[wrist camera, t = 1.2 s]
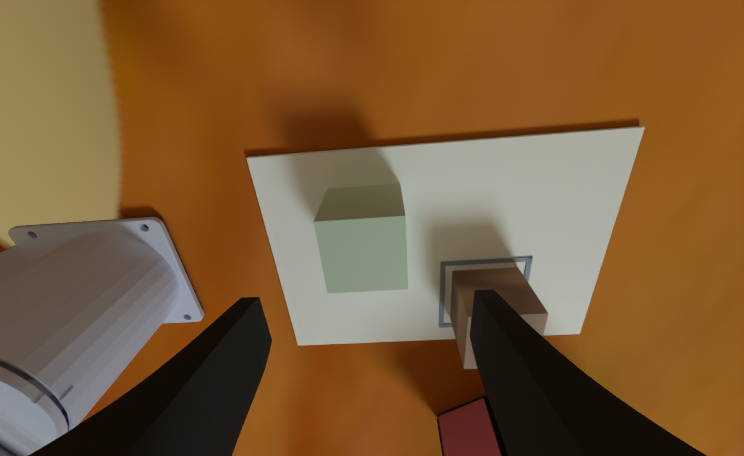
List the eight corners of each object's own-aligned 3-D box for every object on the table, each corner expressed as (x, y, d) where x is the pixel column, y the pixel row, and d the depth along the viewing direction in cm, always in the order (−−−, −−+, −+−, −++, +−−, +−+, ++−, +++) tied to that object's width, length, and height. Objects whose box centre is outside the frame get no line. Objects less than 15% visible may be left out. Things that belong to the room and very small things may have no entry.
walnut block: (450, 318, 22) (463, 369, 18) (452, 270, 20) (467, 317, 16) (510, 315, 21) (535, 366, 18) (517, 267, 19) (548, 313, 16)
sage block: (337, 250, 19) (327, 293, 16) (327, 188, 17) (313, 221, 14) (402, 246, 19) (408, 289, 15) (400, 183, 17) (405, 215, 13)
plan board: (299, 342, 23) (297, 346, 23) (248, 156, 17) (245, 158, 16) (577, 330, 22) (580, 334, 22) (640, 125, 16) (646, 127, 15)
